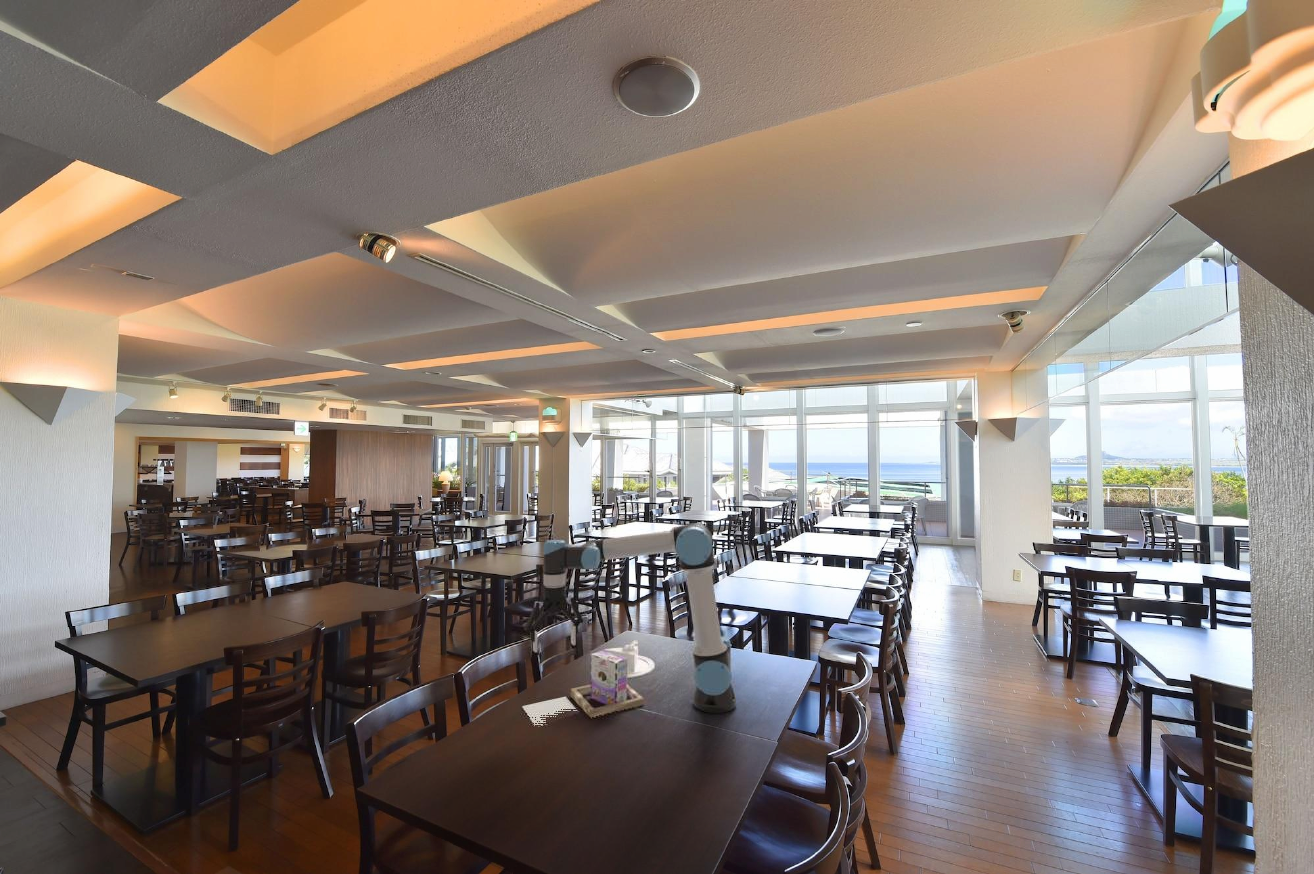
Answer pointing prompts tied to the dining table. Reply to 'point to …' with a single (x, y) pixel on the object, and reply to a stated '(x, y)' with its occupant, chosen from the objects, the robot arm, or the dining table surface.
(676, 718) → the dining table surface
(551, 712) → the place mat
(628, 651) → the dish
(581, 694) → the pocket frame
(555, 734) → the dining table surface
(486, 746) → the dining table surface
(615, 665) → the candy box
